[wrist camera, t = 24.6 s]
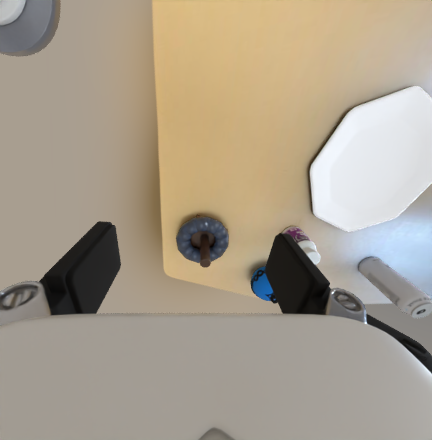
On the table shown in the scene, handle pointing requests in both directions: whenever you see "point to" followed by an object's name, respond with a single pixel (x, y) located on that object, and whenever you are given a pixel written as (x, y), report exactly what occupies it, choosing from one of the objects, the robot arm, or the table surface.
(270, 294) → the ornament
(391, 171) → the plate
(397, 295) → the energy drink can
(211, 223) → the ring
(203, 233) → the stand
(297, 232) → the pill bottle
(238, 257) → the table surface
